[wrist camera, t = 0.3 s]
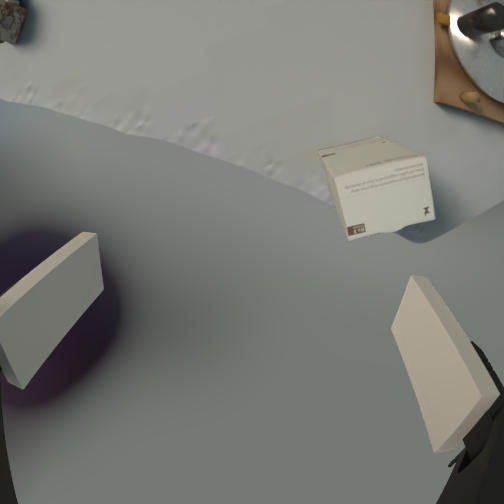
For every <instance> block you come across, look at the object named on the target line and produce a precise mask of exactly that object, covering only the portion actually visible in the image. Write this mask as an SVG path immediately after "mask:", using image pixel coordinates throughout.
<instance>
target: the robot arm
mask: <svg viewBox="0 0 504 504" xmlns="http://www.w3.org/2000/svg"><path fill="white" fill-rule="evenodd" d="M103 290H104V288H103V280H102V273H101V265H100V256H99V247H98V238H97V234H96V233H87V232H82V233H81V234H79V235H78V236H76V237H75V238H74V239H72V240H71V241H70V242H68V243H67V244H66V245H65V246H63V247H62V248H60V249H59V250H58V251H56V252H55V253H54V254H52V255H51V256H50V257H49V258H48V259H46V260H45V261H43V262H42V263H41V264H40V265H38V266H37V267H36V268H35V269H33V270H32V271H31V272H30V273H29V274H27V275H26V276H25V277H24V278H23V279H21V280H20V281H19V282H17V283H15V284H13V285H11V286H10V287H8V288H7V289H6V290H5V291H4V292H2V294H0V371H1V370H2V371H3V373H4V375H5V377H6V379H7V381H8V382H9V383H11V384H13V385H15V386H17V387H19V388H21V389H24V388H25V386H26V385H27V384H28V382H29V381H30V380H31V378H32V377H33V375H34V374H35V373H36V372H37V370H38V369H39V368H40V366H41V365H42V364H43V362H44V361H45V360H46V358H47V357H48V356H49V355H50V353H51V352H52V351H53V350H54V348H55V347H56V346H57V344H58V343H59V342H60V341H61V339H62V338H63V337H64V336H65V334H66V333H67V332H68V331H69V330H70V328H71V327H72V326H73V325H74V323H75V322H76V321H77V320H78V319H79V318H80V316H81V315H82V314H83V313H84V312H85V310H86V309H87V308H88V307H89V306H90V305H91V303H92V302H93V301H94V300H95V299H96V297H97V296H98V295H99V294H100V293H101V292H102V291H103ZM391 330H392V333H393V335H394V338H395V340H396V343H397V345H398V348H399V350H400V353H401V355H402V358H403V361H404V363H405V366H406V368H407V371H408V374H409V377H410V380H411V382H412V385H413V388H414V391H415V394H416V397H417V400H418V403H419V406H420V409H421V411H422V414H423V418H424V421H425V424H426V427H427V431H428V434H429V437H430V441H431V444H432V447H433V451H434V453H441V452H447V451H453V450H454V448H456V446H457V445H458V444H459V443H460V442H461V441H462V440H463V441H464V444H465V448H464V449H463V450H462V451H461V452H460V453H459V454H458V455H457V456H456V457H455V459H453V460H452V461H451V463H450V464H449V465H448V467H451V466H452V465H453V464H454V463H456V464H455V467H454V469H453V471H452V473H451V475H450V477H449V479H448V482H447V484H446V486H445V488H444V490H443V492H442V494H441V495H440V498H439V499H438V501H437V503H436V504H504V387H503V385H502V383H501V382H500V380H499V378H498V376H497V375H496V373H495V371H494V370H493V368H492V366H491V364H490V363H489V362H488V359H487V358H486V356H485V354H484V353H483V351H482V350H481V349H480V348H479V347H478V346H477V345H476V344H474V342H472V341H469V339H468V338H467V336H466V334H465V333H464V331H463V330H462V328H461V327H460V325H459V323H458V322H457V320H456V319H455V317H454V316H453V314H452V313H451V311H450V310H449V309H448V307H447V305H446V304H445V303H444V301H443V300H442V298H441V297H440V295H439V294H438V293H437V291H436V290H435V288H434V287H433V285H432V284H431V283H430V281H429V280H428V279H427V277H424V276H415V275H411V276H410V279H409V282H408V285H407V288H406V291H405V293H404V296H403V299H402V302H401V304H400V307H399V310H398V312H397V315H396V318H395V320H394V323H393V325H392V327H391ZM0 504H18V502H17V498H16V494H15V490H14V486H13V481H12V477H11V471H10V466H9V462H8V456H7V449H6V442H5V434H4V426H3V416H2V402H1V383H0Z"/></svg>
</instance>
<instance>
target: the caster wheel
mask: <svg viewBox="0 0 504 504" xmlns="http://www.w3.org/2000/svg"><path fill="white" fill-rule="evenodd" d="M26 14H27V9H25V8H23V7H20V6H19V1H18V0H0V43H3V42H5V41H6V42H9V43H12V44H16V41H17V38H18V35H19V33H20V30H21V27H22V24H23V22H24V19H25V17H26Z"/></svg>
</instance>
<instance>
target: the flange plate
mask: <svg viewBox="0 0 504 504" xmlns="http://www.w3.org/2000/svg"><path fill="white" fill-rule="evenodd" d="M436 17H437V23H438V24H441V25H444V26H446V31H447V35H448V39H449V43H450V46H451V48H452V51H453V53H454V56H455V58H456V60H457V62H458V63H459V65H460V67H461V68H462V70H463V72H464V73H465V74H466V76H467V77H468V78H469V80H470V81H471V82H472V83H473V84H474V85H475V86H476V87H477V88H478V89H479V90H480V91H481V92H482V93H483V94H485V95H486V96H488V97H489V98H491V99H493V100H495V101H497V102H500V103H503V104H504V0H450V1H449V3H448V6H447V9H446V14H443V13H441V12H438V13H436Z"/></svg>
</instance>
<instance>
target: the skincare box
mask: <svg viewBox="0 0 504 504" xmlns="http://www.w3.org/2000/svg"><path fill="white" fill-rule="evenodd" d="M318 153H319V156H320V160H321V163H322V167H323V171H324V174H325V178H326V182H327V185H328V189H329V192H330V195H331V198H332V200H333V202H334V205H335V208H336V210H337V213H338V215H339V218H340V220H341V223H342V225H343V228H344V231H345V234H346V236H347V239H348V241H353V240H356V239H360V238H364V237H367V236H371V235H375V234H379V233H391V232H395V231H398V230H400V229H402V228H403V227H406V226H409V225H413V224H417V223H422V222H428V221H433V220H435V219H436V216H435V210H434V201H433V194H432V188H431V182H430V176H429V171H428V165H427V159H426V157H425V156H422V155H420V154H418V153H416V152H414V151H411V150H409V149H407V148H405V147H403V146H401V145H398V144H396V143H394V142H392V141H389V140H387V139H385V138H382V137H380V136H379V137H378V136H377V137H373V138H371V139H367V140H363V141H360V142H356V143H352V144H347V145H343V146H338V147H333V148H328V149H323V150H319V151H318Z"/></svg>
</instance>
